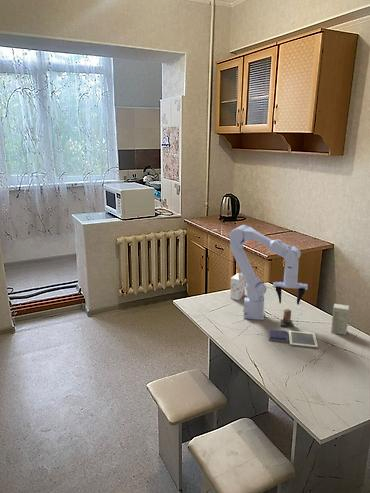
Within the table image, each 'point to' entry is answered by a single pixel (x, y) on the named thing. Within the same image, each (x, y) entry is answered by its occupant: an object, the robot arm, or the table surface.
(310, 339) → the marked square
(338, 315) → the skincare box
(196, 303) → the table surface
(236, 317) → the table surface
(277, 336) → the ink pad
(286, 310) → the stamp
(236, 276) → the ink cartridge box
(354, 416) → the table surface
